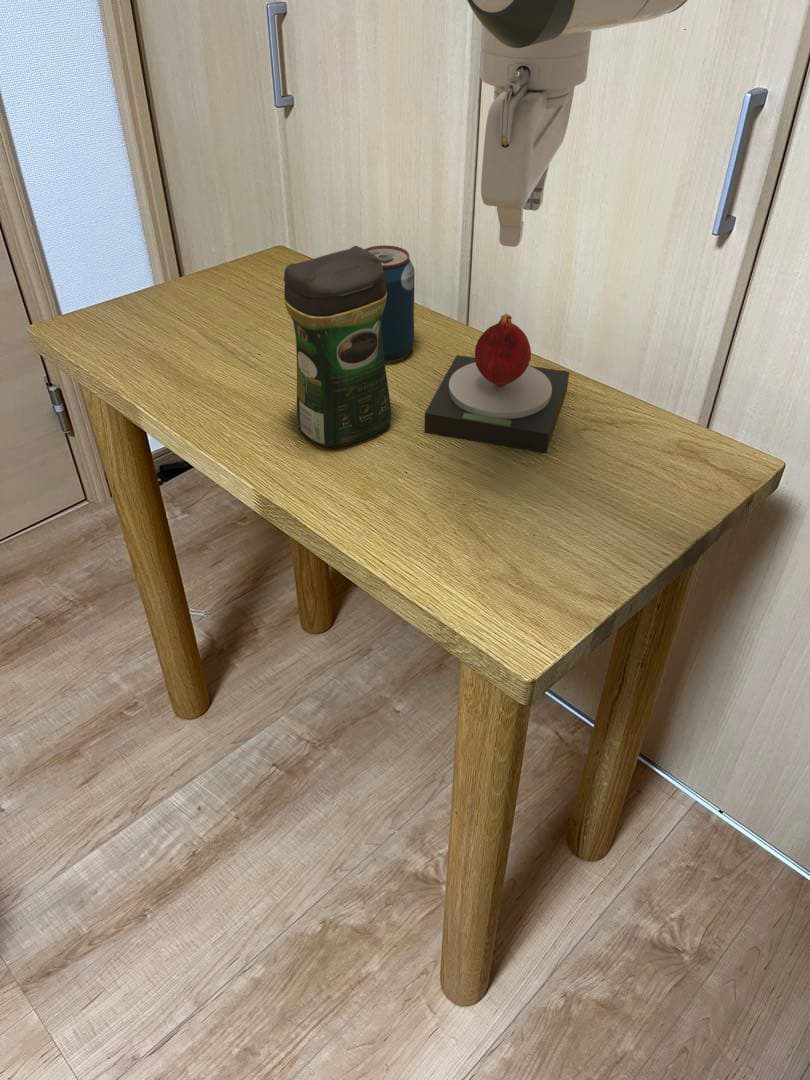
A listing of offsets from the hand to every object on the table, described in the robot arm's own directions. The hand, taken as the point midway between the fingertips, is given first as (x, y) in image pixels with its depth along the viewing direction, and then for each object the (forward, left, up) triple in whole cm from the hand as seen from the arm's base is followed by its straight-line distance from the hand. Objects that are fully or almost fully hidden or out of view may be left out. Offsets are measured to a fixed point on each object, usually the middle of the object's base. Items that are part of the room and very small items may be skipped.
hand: (521, 224), depth 78 cm
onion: (+1, -1, -18) cm, 18 cm away
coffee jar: (+16, +7, -21) cm, 27 cm away
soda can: (+17, -10, -21) cm, 29 cm away
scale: (+1, -1, -21) cm, 21 cm away
